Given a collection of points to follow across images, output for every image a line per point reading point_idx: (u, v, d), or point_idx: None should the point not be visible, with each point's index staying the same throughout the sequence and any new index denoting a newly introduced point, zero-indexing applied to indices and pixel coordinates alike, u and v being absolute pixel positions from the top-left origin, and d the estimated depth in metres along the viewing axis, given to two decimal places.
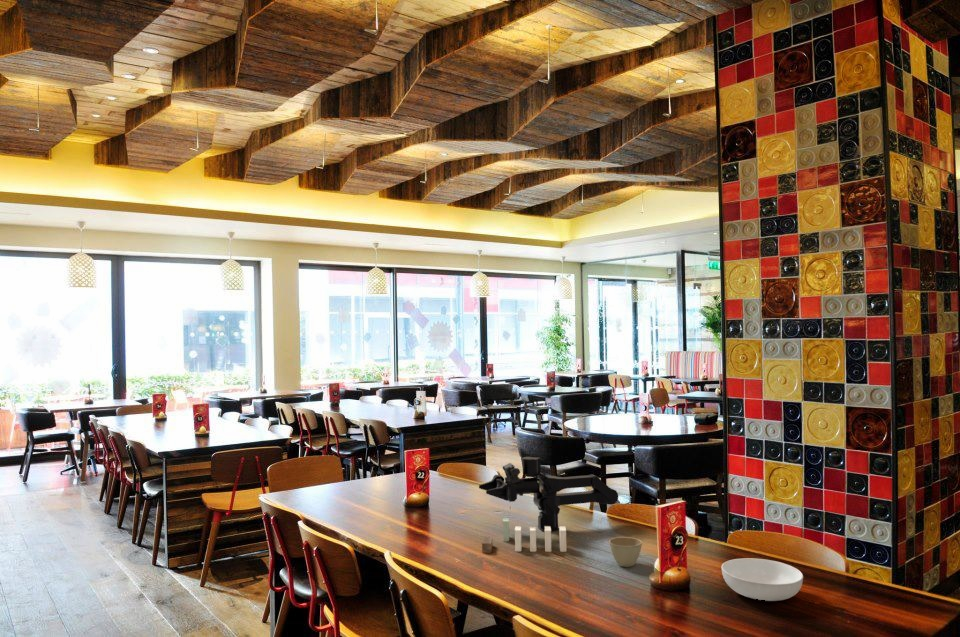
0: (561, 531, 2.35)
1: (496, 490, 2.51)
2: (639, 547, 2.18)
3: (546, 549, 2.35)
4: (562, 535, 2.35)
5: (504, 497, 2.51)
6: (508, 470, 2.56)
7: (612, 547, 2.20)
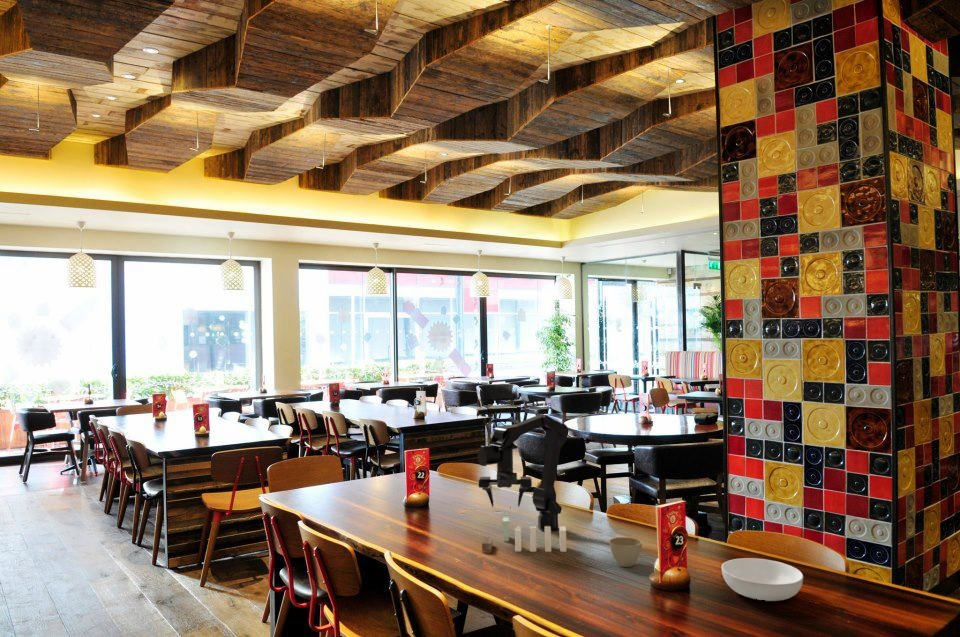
0: (561, 531, 2.35)
1: (521, 496, 2.50)
2: (639, 547, 2.18)
3: (546, 549, 2.35)
4: (562, 535, 2.35)
5: None
6: (511, 484, 2.44)
7: (612, 547, 2.20)
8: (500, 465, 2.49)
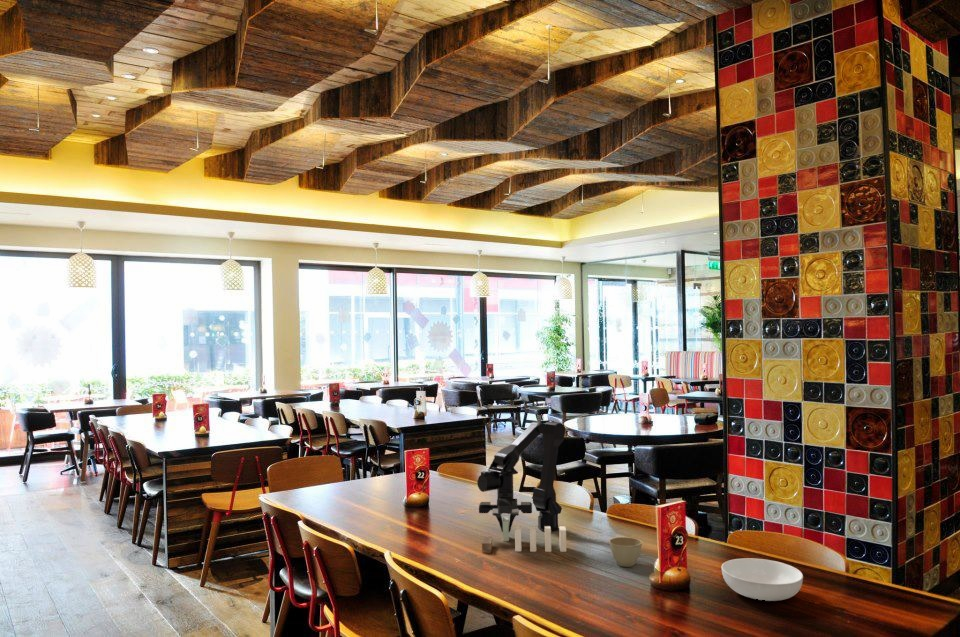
0: (561, 531, 2.35)
1: (512, 522, 2.50)
2: (639, 547, 2.18)
3: (546, 549, 2.35)
4: (562, 535, 2.35)
5: None
6: (511, 510, 2.44)
7: (612, 547, 2.20)
8: (500, 491, 2.48)
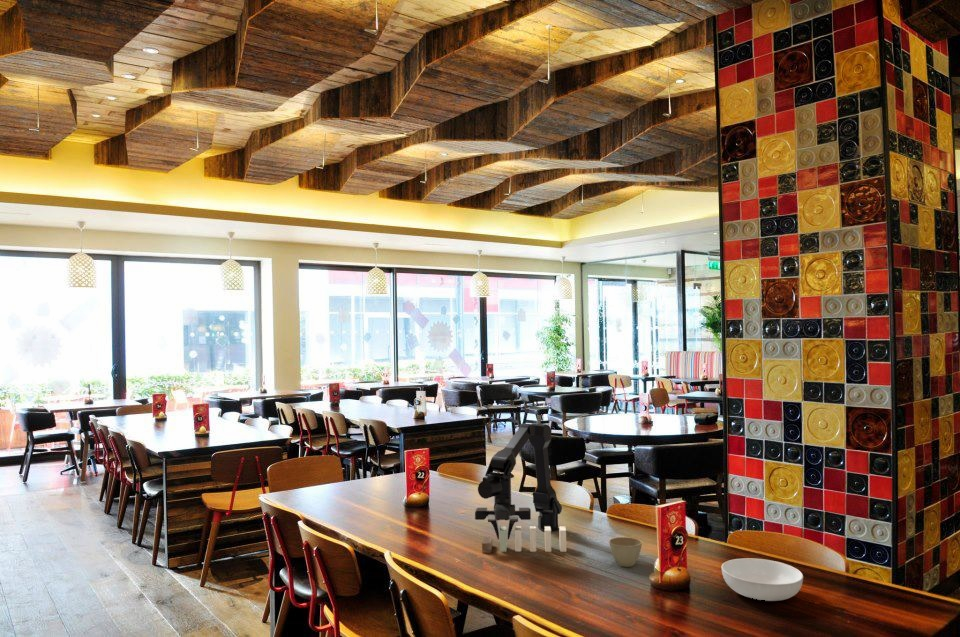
0: (561, 531, 2.35)
1: (511, 529, 2.38)
2: (639, 547, 2.18)
3: (546, 549, 2.35)
4: (562, 535, 2.35)
5: None
6: (509, 516, 2.32)
7: (612, 547, 2.20)
8: (497, 496, 2.37)
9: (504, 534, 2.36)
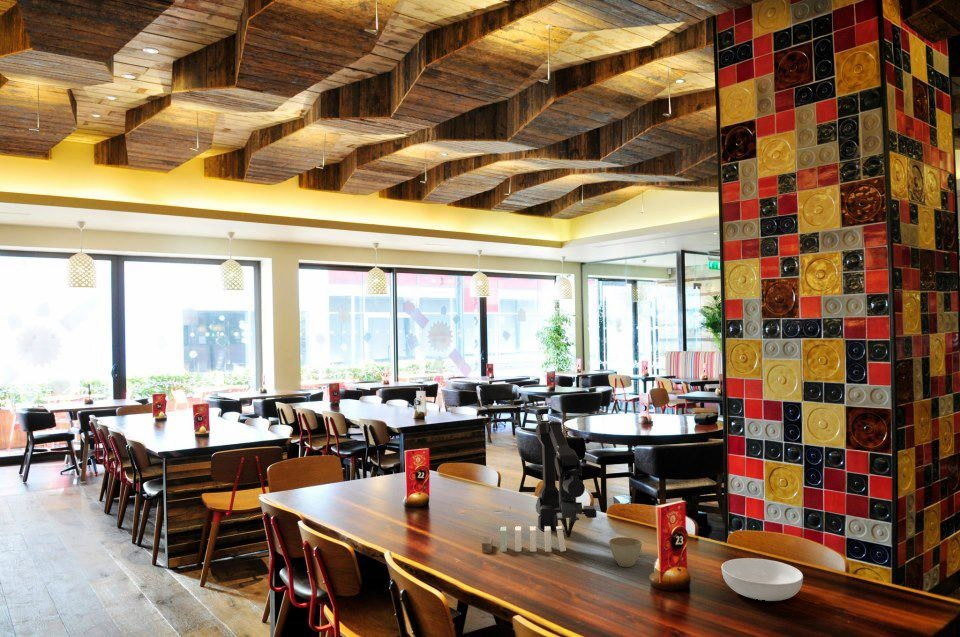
0: (558, 531, 2.35)
1: None
2: (639, 547, 2.18)
3: (546, 549, 2.35)
4: (559, 535, 2.35)
5: None
6: (576, 514, 2.31)
7: (612, 547, 2.20)
8: (563, 494, 2.35)
9: (504, 534, 2.36)
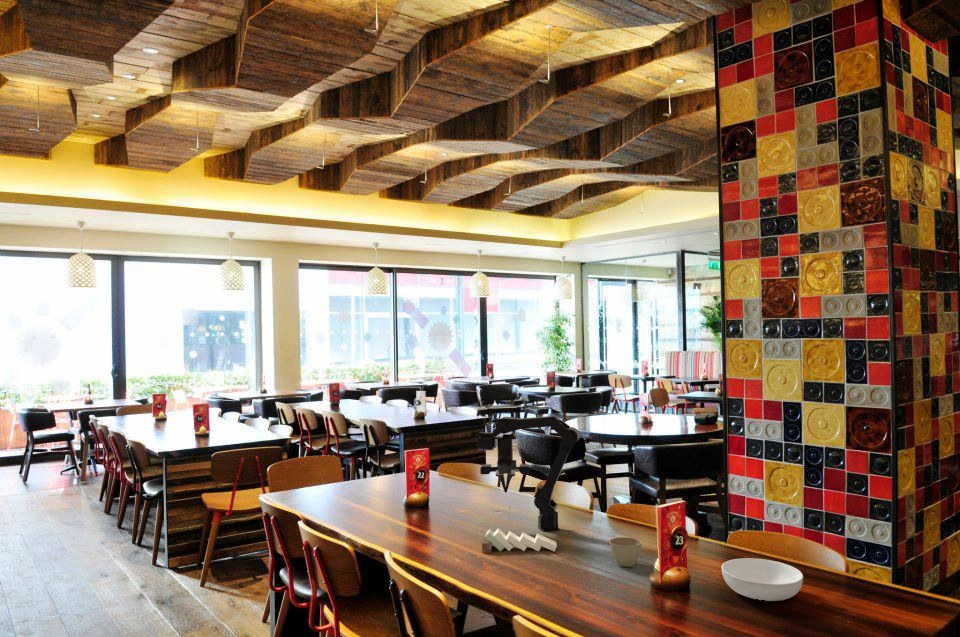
0: (536, 542, 2.36)
1: None
2: (639, 547, 2.18)
3: (537, 549, 2.36)
4: (540, 542, 2.36)
5: None
6: (511, 471, 2.60)
7: (612, 547, 2.20)
8: (500, 453, 2.64)
9: (491, 536, 2.36)
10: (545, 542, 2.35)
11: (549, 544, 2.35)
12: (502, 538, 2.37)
